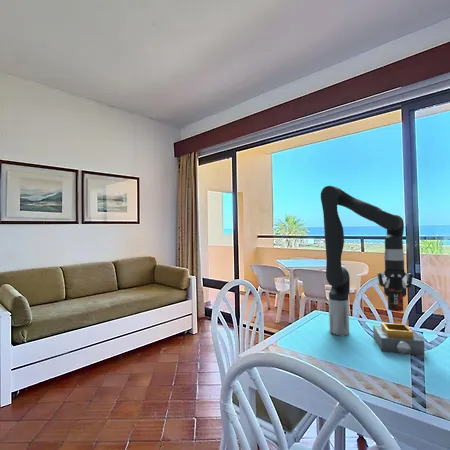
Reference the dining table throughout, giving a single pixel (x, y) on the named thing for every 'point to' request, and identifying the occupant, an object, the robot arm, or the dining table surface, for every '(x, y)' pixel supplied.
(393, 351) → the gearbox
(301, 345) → the dining table surface
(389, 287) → the deodorant
